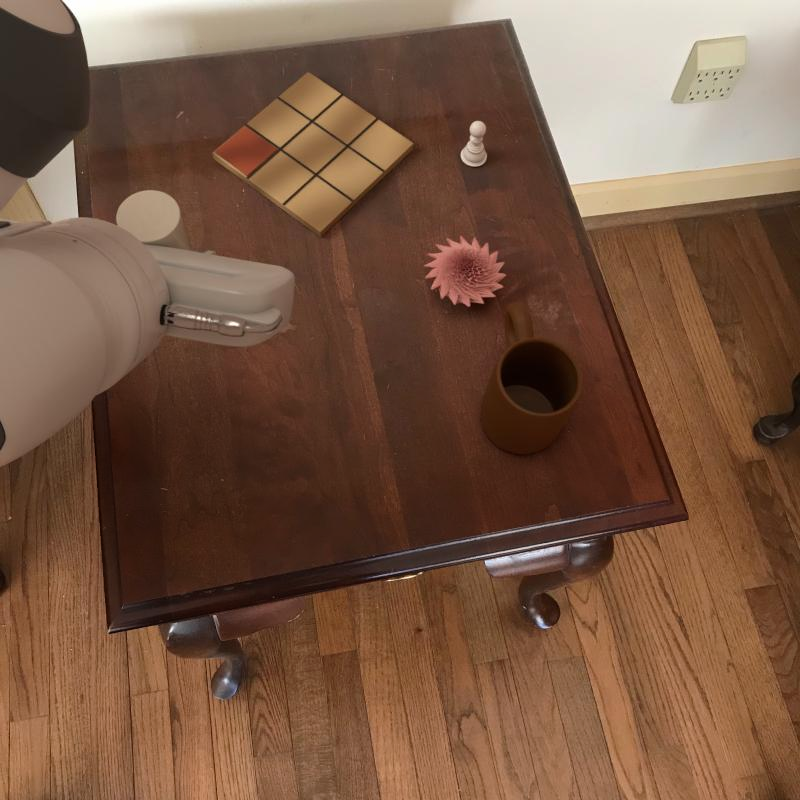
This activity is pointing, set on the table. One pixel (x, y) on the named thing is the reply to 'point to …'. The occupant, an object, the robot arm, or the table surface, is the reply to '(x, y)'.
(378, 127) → the board
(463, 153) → the chess pawn
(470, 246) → the flower
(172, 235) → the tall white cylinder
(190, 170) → the table surface
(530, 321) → the mug
